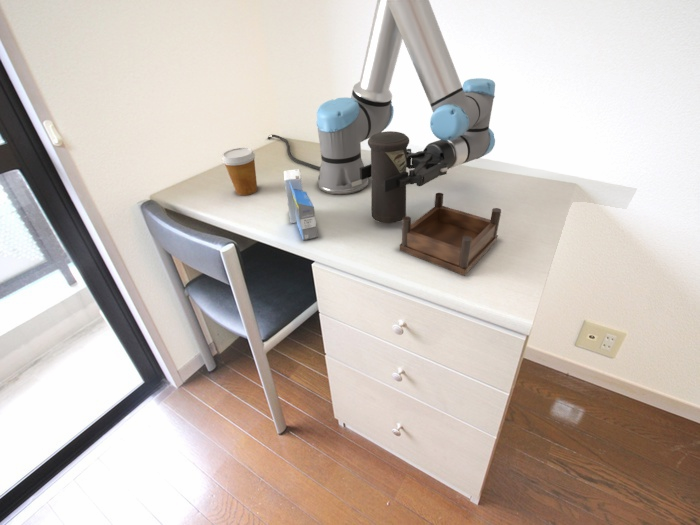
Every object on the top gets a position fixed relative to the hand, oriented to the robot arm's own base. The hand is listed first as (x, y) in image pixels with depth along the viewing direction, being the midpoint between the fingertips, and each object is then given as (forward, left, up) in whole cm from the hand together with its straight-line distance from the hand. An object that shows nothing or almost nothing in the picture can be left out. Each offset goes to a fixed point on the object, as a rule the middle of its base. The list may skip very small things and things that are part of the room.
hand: (372, 179), depth 83 cm
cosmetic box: (-20, -7, -13) cm, 25 cm away
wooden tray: (+18, +4, -13) cm, 23 cm away
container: (+1, +5, -11) cm, 12 cm away
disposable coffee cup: (-46, -4, -13) cm, 48 cm away
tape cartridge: (-13, -10, -13) cm, 21 cm away
